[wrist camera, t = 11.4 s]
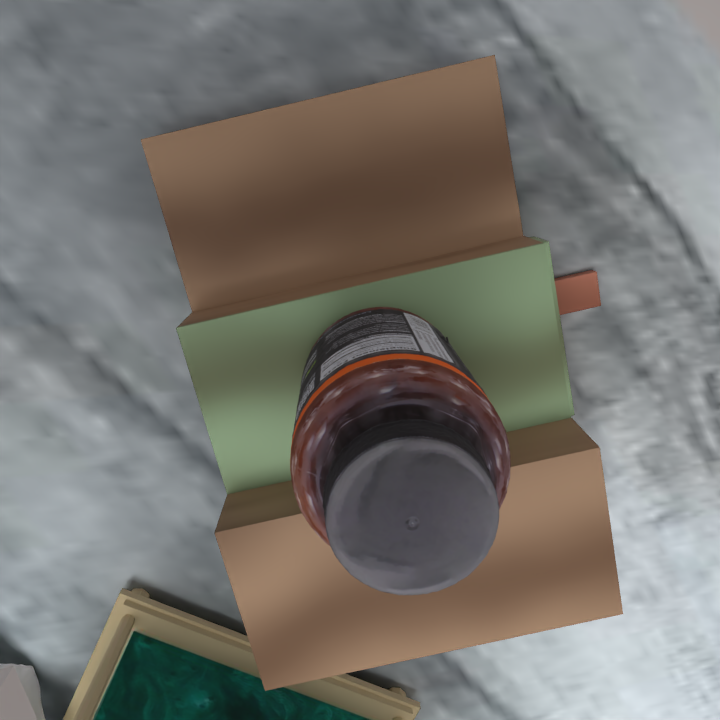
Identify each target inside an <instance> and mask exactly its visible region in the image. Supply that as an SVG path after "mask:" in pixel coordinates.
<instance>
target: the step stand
mask: <svg viewBox="0 0 720 720" xmlns="http://www.w3.org/2000/svg"><path fill="white" fill-rule="evenodd" d="M141 142H142V146H143V149H144V152H145V156H146V159H147V162H148V166H149V169H150V172H151V176H152V179H153V182H154V186H155V189H156V192H157V196H158V199H159V202H160V206H161V209H162V212H163V216H164V219H165V222H166V226H167V229H168V232H169V236H170V239H171V242H172V246H173V249H174V252H175V256H176V259H177V262H178V266H179V269H180V272H181V276H182V279H183V282H184V286H185V289H186V292H187V296H188V299H189V302H190V306H191V309H192V313H191V314H190V315H189V316H188V317H187V318H186V319H185V320H184V321H183V322H182V323H181V324H180V325H179V326H178V327H177V328H176V330H177V333H178V336H179V339H180V343H181V346H182V349H183V352H184V356H185V359H186V362H187V365H188V369H189V372H190V375H191V378H192V382H193V385H194V388H195V391H196V394H197V398H198V401H199V404H200V407H201V411H202V414H203V417H204V420H205V424H206V427H207V430H208V433H209V437H210V440H211V443H212V446H213V450H214V453H215V456H216V459H217V463H218V466H219V469H220V472H221V475H222V479H223V482H224V485H225V488H226V492H227V497H226V500H225V503H224V506H223V509H222V512H221V515H220V518H219V521H218V524H217V527H216V530H215V536H216V539H217V542H218V546H219V549H220V552H221V555H222V558H223V561H224V564H225V567H226V571H227V574H228V577H229V580H230V583H231V586H232V589H233V592H234V596H235V599H236V602H237V605H238V608H239V611H240V614H241V617H242V621H243V624H244V627H245V630H246V633H247V636H248V639H249V642H250V646H251V649H252V652H253V655H254V658H255V661H256V664H257V667H258V671H259V674H260V677H261V680H262V683H263V686H264V689H265V691H267V690H271V689H276V688H281V687H285V686H290V685H295V684H299V683H304V682H308V681H313V680H318V679H322V678H327V677H332V676H336V675H341V674H346V673H350V672H355V671H360V670H364V669H369V668H374V667H378V666H383V665H388V664H392V663H397V662H402V661H406V660H411V659H416V658H420V657H425V656H429V655H434V654H439V653H443V652H448V651H453V650H457V649H462V648H467V647H471V646H476V645H481V644H485V643H490V642H495V641H499V640H504V639H509V638H513V637H518V636H523V635H527V634H532V633H537V632H541V631H546V630H551V629H555V628H560V627H564V626H569V625H574V624H578V623H583V622H588V621H592V620H597V619H602V618H606V617H611V616H616V615H620V614H623V611H622V604H621V596H620V589H619V582H618V575H617V568H616V561H615V554H614V546H613V539H612V532H611V525H610V518H609V511H608V504H607V496H606V489H605V482H604V475H603V468H602V461H601V454H600V447H599V446H598V445H597V444H596V443H595V442H594V441H593V440H592V439H591V438H590V437H589V436H588V435H587V434H586V433H585V432H584V431H583V429H582V428H581V427H580V426H579V425H578V424H577V423H576V422H575V421H574V420H573V419H572V418H571V416H572V415H574V408H573V401H572V395H571V388H570V381H569V374H568V368H567V361H566V354H565V348H564V341H563V334H562V327H561V321H560V315H562V314H567V313H571V312H575V311H580V310H584V309H589V308H593V307H597V306H601V302H600V294H599V286H598V279H597V272H596V271H593V270H589V271H585V272H580V273H576V274H572V275H567V276H563V277H559V278H554V274H553V267H552V260H551V254H550V247H549V241H546V240H543V239H540V238H537V237H534V236H533V237H529V238H528V237H525V236H523V231H522V224H521V218H520V212H519V206H518V199H517V193H516V187H515V180H514V174H513V168H512V161H511V155H510V149H509V143H508V136H507V130H506V124H505V117H504V111H503V105H502V98H501V92H500V86H499V80H498V73H497V67H496V61H495V55H492V56H488V57H484V58H480V59H476V60H471V61H467V62H463V63H459V64H455V65H450V66H446V67H442V68H438V69H434V70H430V71H425V72H421V73H417V74H413V75H409V76H404V77H400V78H396V79H392V80H388V81H383V82H379V83H375V84H371V85H367V86H363V87H358V88H354V89H350V90H346V91H342V92H337V93H333V94H329V95H325V96H321V97H317V98H312V99H308V100H304V101H300V102H296V103H291V104H287V105H283V106H279V107H275V108H270V109H266V110H262V111H258V112H254V113H250V114H245V115H241V116H237V117H233V118H229V119H224V120H220V121H216V122H212V123H208V124H203V125H199V126H195V127H191V128H187V129H183V130H178V131H174V132H170V133H166V134H162V135H157V136H153V137H149V138H145V139H141ZM372 307H393V308H399V309H402V310H405V311H409V312H411V313H414V314H416V315H418V316H420V317H421V318H423V319H425V320H426V321H428V322H429V323H431V324H432V325H433V326H434V327H435V328H437V329H438V330H439V331H440V332H441V333H442V334H443V335H444V337H445V338H446V337H448V340H449V343H450V344H451V346H452V347H453V349H454V350H455V351H456V353H457V355H458V356H459V357H460V359H461V360H462V362H463V363H464V365H465V366H466V368H467V369H468V370H469V371H470V373H471V374H472V376H473V377H474V379H475V380H476V381H477V383H478V384H479V385H480V387H482V389H483V390H484V392H485V394H486V396H487V398H488V399H489V401H490V402H491V404H492V405H493V406H494V408H495V410H496V412H497V413H498V415H499V417H500V419H501V421H502V423H503V426H504V428H505V430H506V434H507V438H508V442H509V449H510V461H511V466H510V480H509V484H508V488H507V494H506V497H505V499H504V501H503V504H502V505H501V508H500V509H499V524H498V529H497V533H496V537H495V540H494V542H493V545H492V546H491V548H490V550H489V552H488V554H487V556H486V557H485V558H484V559H483V560H482V562H481V563H480V564H479V565H478V566H477V568H476V569H475V570H474V571H473V572H472V573H471V574H470V575H468V576H467V577H465V578H464V579H462V580H460V581H458V582H457V583H456V584H454V585H452V586H450V587H447V588H445V589H442V590H440V591H437V592H431V593H428V594H421V595H396V594H390V593H386V592H382V591H379V590H376V589H374V588H371V587H369V586H368V585H366V584H364V583H362V582H360V581H359V580H358V579H356V578H355V577H353V576H352V575H351V574H350V573H349V572H348V571H347V570H346V569H345V568H344V567H343V566H342V564H341V563H340V562H339V560H338V559H337V558H336V556H335V555H334V553H333V550H332V548H331V547H330V546H329V545H328V544H326V543H325V542H324V541H323V540H322V539H321V538H320V537H319V536H318V535H317V534H316V533H315V531H314V530H313V529H312V528H311V526H310V525H309V523H308V522H307V521H306V519H305V517H304V516H303V514H302V512H301V510H300V508H299V506H298V503H297V500H296V497H295V494H294V490H293V485H292V480H291V473H290V454H291V445H292V434H293V431H294V424H295V418H296V411H297V405H298V399H299V393H300V387H301V380H302V375H303V371H304V366H305V364H306V361H307V358H308V356H309V353H310V352H311V349H312V347H313V346H314V344H315V343H316V341H317V340H318V338H319V337H320V336H321V335H322V334H323V332H324V331H325V330H326V329H327V328H328V327H329V326H331V325H332V324H333V323H335V322H336V321H337V320H339V319H341V318H342V317H344V316H346V315H348V314H350V313H352V312H355V311H358V310H362V309H366V308H372Z"/></svg>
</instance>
